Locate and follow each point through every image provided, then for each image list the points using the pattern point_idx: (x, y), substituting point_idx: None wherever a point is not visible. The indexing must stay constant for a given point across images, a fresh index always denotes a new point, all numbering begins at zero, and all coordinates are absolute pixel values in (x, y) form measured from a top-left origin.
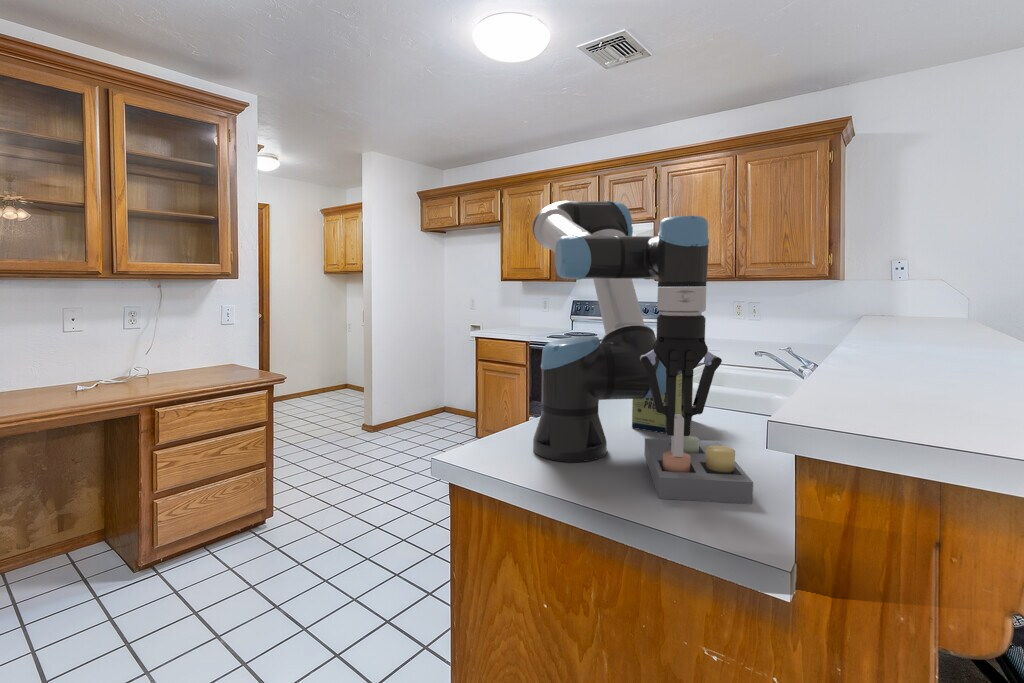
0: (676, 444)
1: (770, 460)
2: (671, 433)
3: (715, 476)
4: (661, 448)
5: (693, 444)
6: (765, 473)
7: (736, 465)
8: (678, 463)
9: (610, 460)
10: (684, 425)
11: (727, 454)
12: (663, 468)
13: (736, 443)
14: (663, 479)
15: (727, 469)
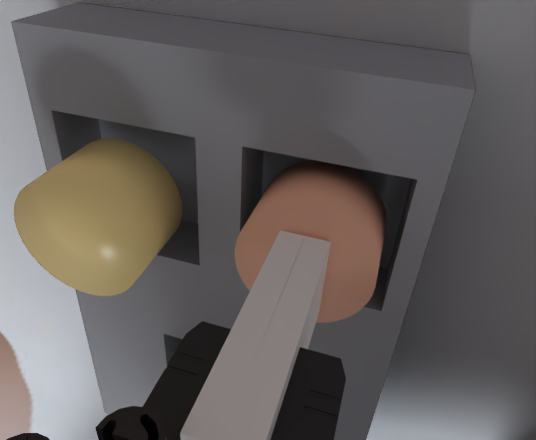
0: (299, 286)
1: (6, 325)
2: (310, 364)
3: (162, 95)
4: None
5: None
6: (21, 251)
7: None
8: (317, 198)
9: (512, 428)
10: (200, 389)
11: (49, 178)
12: (384, 231)
13: (76, 427)
14: (451, 81)
15: (96, 143)
